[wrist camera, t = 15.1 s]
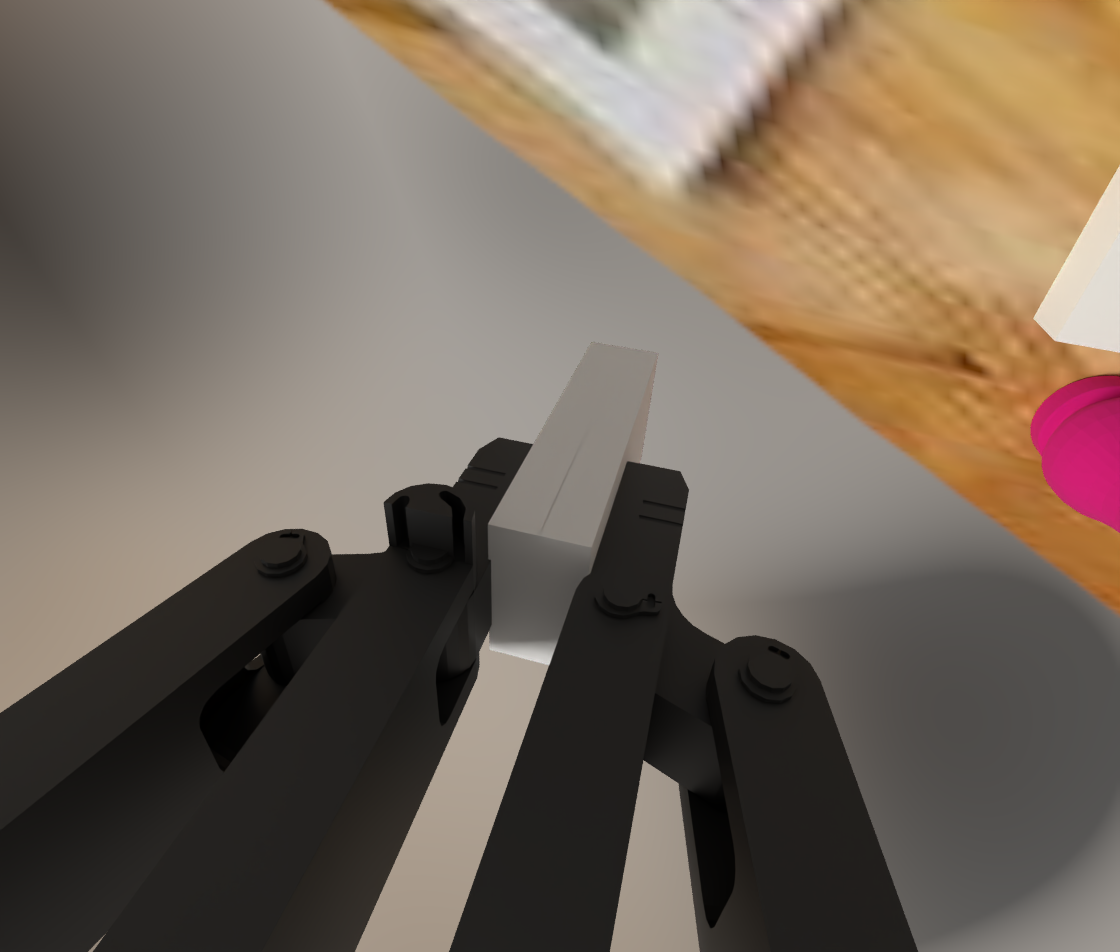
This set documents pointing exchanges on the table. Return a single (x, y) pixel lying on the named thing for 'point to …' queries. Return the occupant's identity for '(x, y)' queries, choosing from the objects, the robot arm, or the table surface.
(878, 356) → the table surface
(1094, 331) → the cream board
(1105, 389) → the pepper mill
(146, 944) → the robot arm
